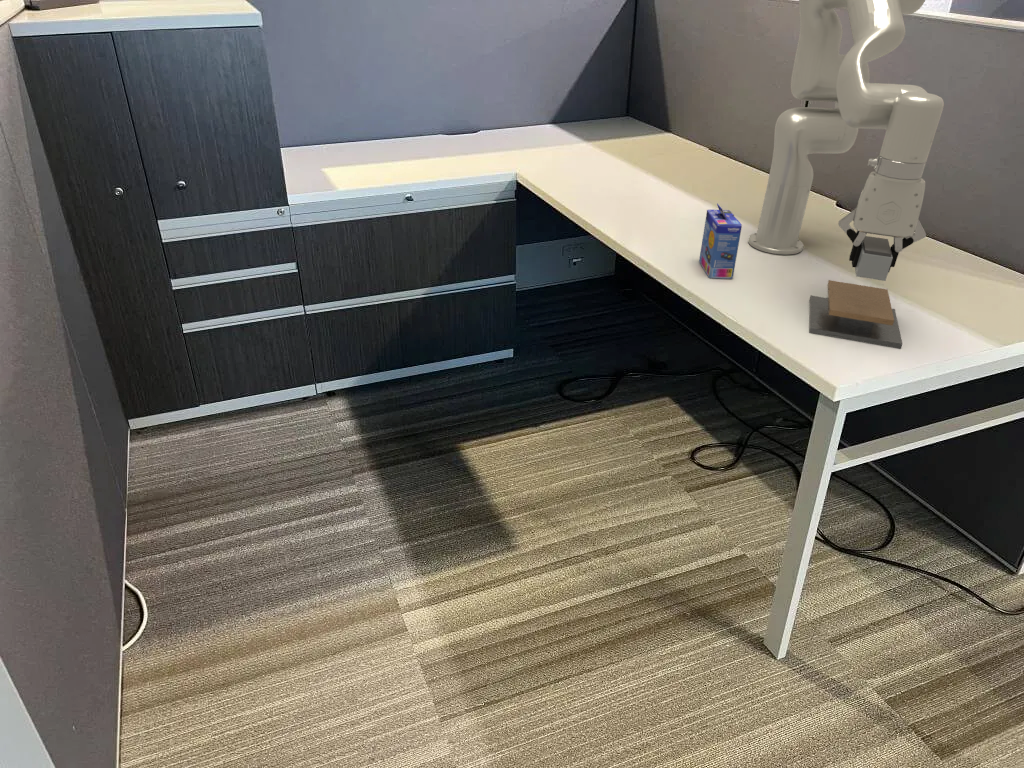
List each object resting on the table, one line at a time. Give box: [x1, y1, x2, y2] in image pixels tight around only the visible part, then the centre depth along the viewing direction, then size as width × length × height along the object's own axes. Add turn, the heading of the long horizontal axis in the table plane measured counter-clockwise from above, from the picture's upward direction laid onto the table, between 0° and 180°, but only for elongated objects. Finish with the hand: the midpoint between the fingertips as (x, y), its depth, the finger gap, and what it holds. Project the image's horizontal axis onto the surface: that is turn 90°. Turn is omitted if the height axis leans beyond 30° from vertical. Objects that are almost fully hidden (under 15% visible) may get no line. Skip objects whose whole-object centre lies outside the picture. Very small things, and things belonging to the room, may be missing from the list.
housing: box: [854, 235, 893, 282], centre depth 140 cm, size 5×9×5 cm, turn 161°
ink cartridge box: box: [698, 203, 743, 280], centre depth 164 cm, size 10×6×14 cm, turn 2°
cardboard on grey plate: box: [808, 279, 903, 350], centre depth 146 cm, size 16×16×5 cm
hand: (870, 266), depth 141 cm, fingers closed on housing, 5 cm apart
